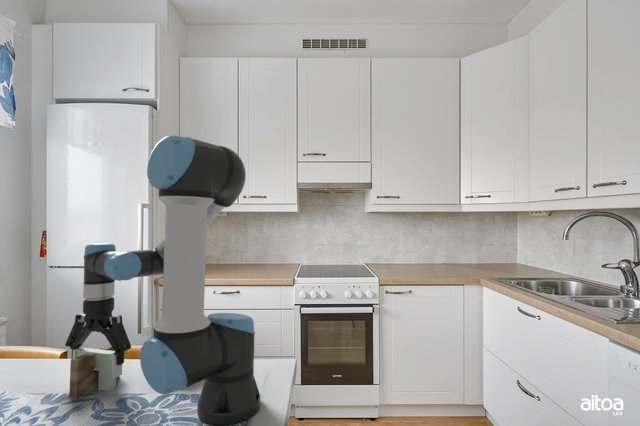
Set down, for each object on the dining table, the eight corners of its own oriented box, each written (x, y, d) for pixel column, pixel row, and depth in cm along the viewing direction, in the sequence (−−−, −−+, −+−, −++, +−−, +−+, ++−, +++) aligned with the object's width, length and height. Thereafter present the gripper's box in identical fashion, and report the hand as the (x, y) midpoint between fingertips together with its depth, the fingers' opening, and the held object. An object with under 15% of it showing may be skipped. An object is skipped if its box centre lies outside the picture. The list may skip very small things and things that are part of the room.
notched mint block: (115, 387, 97) (116, 351, 98) (108, 391, 95) (109, 354, 95) (84, 383, 100) (85, 347, 100) (76, 386, 98) (77, 350, 98)
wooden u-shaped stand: (112, 376, 104) (114, 342, 105) (119, 377, 104) (120, 343, 104) (69, 398, 91) (70, 359, 91) (76, 399, 90) (77, 360, 91)
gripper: (145, 297, 99) (144, 372, 98) (76, 293, 105) (74, 365, 104) (125, 302, 92) (123, 384, 91) (51, 298, 98) (49, 375, 97)
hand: (97, 374), depth 97 cm, fingers open, 13 cm apart
